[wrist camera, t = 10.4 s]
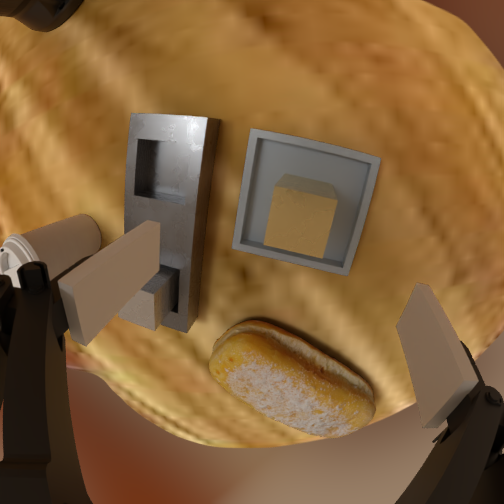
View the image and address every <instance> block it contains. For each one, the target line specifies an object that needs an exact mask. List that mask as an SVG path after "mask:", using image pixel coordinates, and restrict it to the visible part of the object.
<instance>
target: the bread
mask: <svg viewBox="0 0 504 504" xmlns="http://www.w3.org/2000/svg"><path fill="white" fill-rule="evenodd" d="M209 370H210V373H211V375H212V377H213V378H214V379H215V380H216V382H217V383H218V384H220V385H221V386H222V387H223V388H224V389H225V390H226V391H228V392H229V393H230V394H231V395H233V396H235V397H236V398H237V399H238V400H240V401H241V402H243V403H244V404H246V405H248V406H249V407H251V408H252V409H254V410H256V411H257V412H259V413H261V414H262V415H264V416H266V417H269V418H271V419H273V420H275V421H279V422H281V423H283V424H285V425H287V426H289V427H292V428H295V429H297V430H299V431H302V432H305V433H307V434H310V435H315V436H320V437H327V438H337V437H341V436H346V435H348V434H351V433H353V432H355V431H357V430H359V429H361V428H362V427H364V426H365V425H367V424H368V423H369V422H370V421H371V420H372V418H373V416H374V414H375V411H376V407H375V405H374V397H373V391H372V388H371V387H370V385H369V384H368V383H367V381H365V380H364V379H362V377H361V376H359V375H358V374H356V373H355V372H353V371H352V370H351V369H349V368H348V367H346V366H345V365H344V364H342V363H340V362H339V361H337V360H336V359H335V358H332V357H329V356H328V355H326V354H325V353H323V352H322V351H321V350H319V349H318V348H316V347H314V346H312V345H311V344H310V343H308V342H306V341H304V340H303V339H302V338H300V337H298V336H296V335H295V334H292V333H290V332H287V331H286V330H284V329H282V328H280V327H277V326H275V325H272V324H270V323H267V322H264V321H258V320H248V321H244V322H242V323H239V324H237V325H235V326H233V327H231V328H230V329H228V330H227V331H226V332H225V333H224V334H223V335H222V336H221V337H220V338H219V339H217V341H216V342H215V344H214V346H213V352H212V355H211V358H210V362H209Z"/></svg>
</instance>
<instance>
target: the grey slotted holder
mask: <svg viewBox="0 0 504 504" xmlns="http://www.w3.org/2000/svg"><path fill="white" fill-rule="evenodd" d="M219 125H220V119H213V118H204V117H194V116H182V115H167V114H146V113H131V118H130V127H129V137H128V148H127V162H126V179H125V211H124V235H125V234H126V233H128V232H129V231H131V230H132V229H134V228H135V227H137V226H139V225H140V224H142V223H143V222H145V221H147V220H150V221H155V222H159V223H160V252H159V264H162V265H166V266H170V267H173V268H177V269H180V278H179V301H178V302H177V304H176V305H175V306H174V307H173V309H172V310H171V311H170V313H169V314H168V315H167V316H166V318H165V319H164V320H163V321H162V323H161V325H163V326H166V327H169V328H172V329H175V330H178V331H181V332H184V333H187V332H188V331H189V329H190V328H191V326H192V325H193V323H194V322H195V320H196V318H197V317H198V306H199V294H200V282H201V271H202V260H203V250H204V240H205V231H206V222H207V213H208V205H209V197H210V189H211V181H212V173H213V166H214V159H215V152H216V145H217V138H218V132H219Z"/></svg>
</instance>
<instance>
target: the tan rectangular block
mask: <svg viewBox="0 0 504 504" xmlns="http://www.w3.org/2000/svg"><path fill="white" fill-rule="evenodd" d="M337 202H338V200H337V197H336V194H335V191H334V188H333V185H332V184H330V183H326V182H322V181H318V180H314V179H309V178H305V177H300V176H296V175H291V174H286V173H285V174H284V175H283V176H282V177H281V178H280V180H279V181H278V182H277V183H276V185H275V186H274V191H273V196H272V202H271V207H270V212H269V218H268V223H267V228H266V233H265V239H264V244H263V245H266V246H271V247H275V248H279V249H284V250H288V251H292V252H296V253H301V254H305V255H309V256H313V257H317V258H323V255H324V251H325V248H326V244H327V240H328V237H329V233H330V229H331V225H332V221H333V218H334V214H335V210H336V206H337Z"/></svg>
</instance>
